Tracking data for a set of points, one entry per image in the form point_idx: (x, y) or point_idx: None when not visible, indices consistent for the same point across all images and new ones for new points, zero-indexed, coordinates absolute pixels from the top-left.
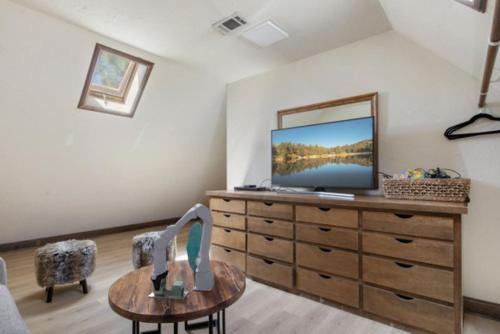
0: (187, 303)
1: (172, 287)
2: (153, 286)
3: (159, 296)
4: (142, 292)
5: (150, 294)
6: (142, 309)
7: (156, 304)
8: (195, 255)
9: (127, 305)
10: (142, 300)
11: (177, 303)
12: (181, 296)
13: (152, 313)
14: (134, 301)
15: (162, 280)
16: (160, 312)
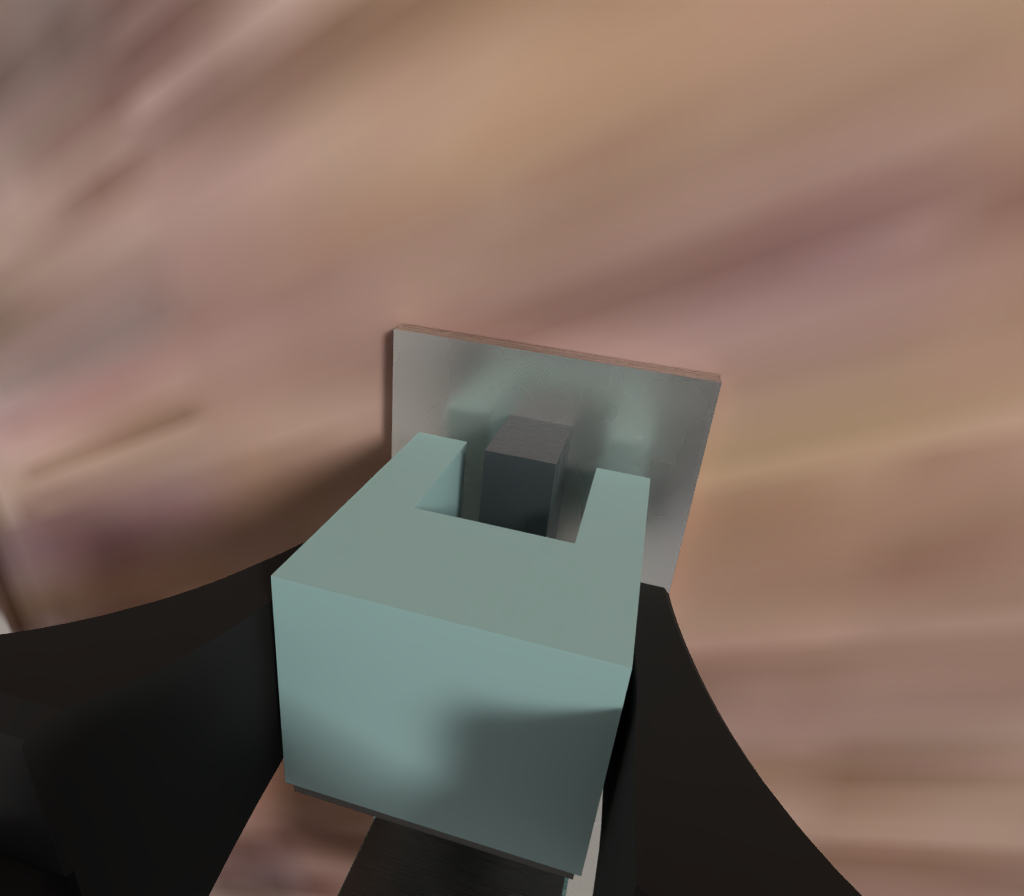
0: (301, 858)
1: (349, 874)
2: (340, 518)
3: None
4: (647, 61)
5: (471, 351)
6: (33, 370)
7: (203, 533)
8: None
9: (40, 6)
10: (270, 251)
11: (282, 770)
12: None
13: (9, 532)
14: (203, 83)
15: (437, 805)
16: (58, 614)
